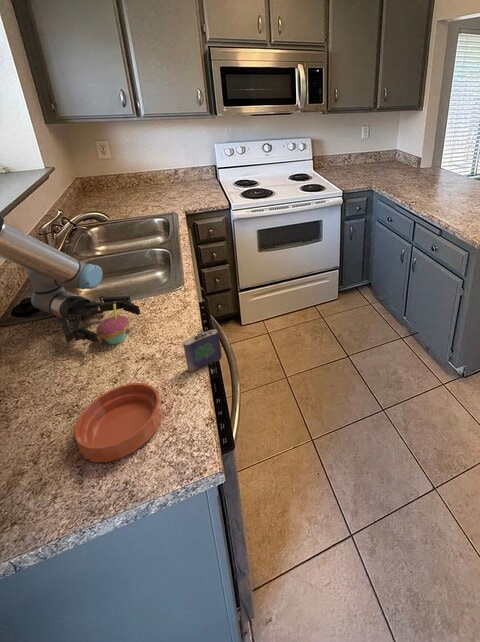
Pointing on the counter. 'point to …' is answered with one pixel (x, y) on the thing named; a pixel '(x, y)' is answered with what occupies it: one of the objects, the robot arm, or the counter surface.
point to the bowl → (118, 422)
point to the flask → (202, 349)
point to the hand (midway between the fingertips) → (118, 323)
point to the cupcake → (113, 328)
